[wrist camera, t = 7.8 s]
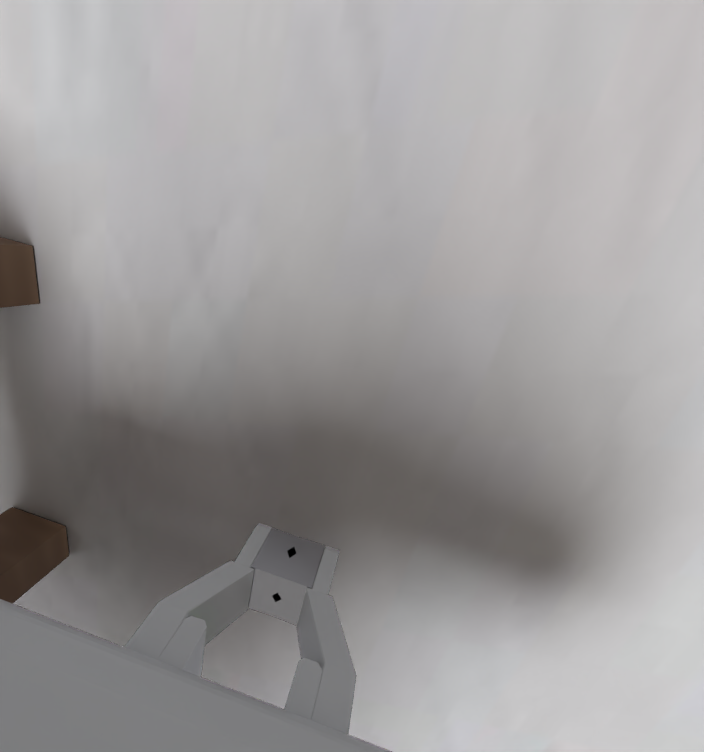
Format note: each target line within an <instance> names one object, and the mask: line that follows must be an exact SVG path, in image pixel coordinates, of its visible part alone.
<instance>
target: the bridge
mask: <svg viewBox="0 0 704 752" xmlns="http://www.w3.org/2000/svg"><path fill="white" fill-rule="evenodd" d="M30 304H39V296H38V288H37V279H36V271H35V262H34V254H33V246H31V245H27V244H24V243H20V242H16V241H13V240H9V239H6V238H2V237H0V308H3V307H12V306H21V305H30ZM68 556H69V549H68V541H67V532H66V526H63V525H61V524H58V523H55V522H52V521H49V520H47V519H44V518H41V517H38V516H36V515H33V514H30V513H27V512H24V511H22V510H19V509H16V508H13V507H12V508H10V509H8V510H7V511H5V512H3V513H2V514H0V599H2V600H4V601H7V602H10V603H12V604H13V603H14V602H15V601H16V600H17V599H19V598H20V597H21V596H22V595H23V594H24V593H26V592H27V591H28V590H29V589H30V588H31V587H33V586H34V585H35V584H36V583H37V582H39V581H40V580H41V579H42V578H43V577H44V576H46V575H47V574H48V573H49V572H50V571H51V570H53V569H54V568H55V567H56V566H57V565H59V564H60V563H61V562H62V561H63V560H64V559H66V558H67V557H68Z"/></svg>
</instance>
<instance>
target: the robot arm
mask: <svg viewBox="0 0 704 752" xmlns="http://www.w3.org/2000/svg"><path fill="white" fill-rule="evenodd" d="M338 556H339V550H337V549H334V548H331V547H328V546H326V547H325V545H323V544H320V543H317V542H314V541H311V540H308V539H304V538H301V537H297V536H294V535H291V534H289V533H286V532H283V531H281V530H278V529H275V528H272V527H269V526H267V525H264V524H261V523H259V524H258V525H257V526H256V527H255V529H254V530H253V532H252V534H251V535H250V537H249V539H248V540H247V542H246V543H245V545H244V547H243V548H242V550H241V552H240V553H239V555H238V557H237V558H236V560H235V562H233V561H229V562H227V563H225V564H223V565H222V566H220V567H218V568H216V569H215V570H213V571H211V572H209V573H208V574H206V575H204V576H203V577H201V578H199V579H197V580H196V581H194V582H192V583H190V584H189V585H187V586H185V587H183V588H182V589H180V590H178V591H176V592H175V593H173V594H171V595H169V596H168V597H166V598H164V599H162V600H161V601H159V602H158V603H157V605H156V606H155V607H154V609H153V610H152V611H151V613H150V614H149V615H148V616H147V618H146V619H145V620H144V622H143V623H142V624H141V626H140V627H139V628H138V630H137V631H136V632H135V634H134V635H133V636H132V637H131V639H130V640H129V641H128V643H127V644H126V645H125V647H122V646H120V645H117V644H115V643H112V642H110V641H107V640H104V639H102V638H99V637H97V636H94V635H92V634H89V633H87V632H84V631H81V630H79V629H76V628H74V627H71V626H69V625H66V624H63V623H61V622H58V621H56V620H53V619H51V618H48V617H46V616H43V615H40V614H38V613H35V612H33V611H30V610H28V609H25V608H22V607H20V606H17V605H15V604H12V603H10V602H7V601H4V600H2V599H0V752H392V751H390V750H387V749H385V748H382V747H379V746H377V745H374V744H372V743H369V742H367V741H364V740H361V739H359V738H356V737H354V736H351V735H349V734H348V732H349V725H350V718H351V711H352V704H353V697H354V690H355V683H356V672H355V669H354V666H353V663H352V659H351V656H350V653H349V649H348V646H347V643H346V639H345V636H344V633H343V629H342V626H341V623H340V619H339V616H338V613H337V610H336V606H335V603H334V600H333V597H332V596H330V595H329V591H330V587H331V583H332V579H333V575H334V571H335V568H336V564H337V560H338ZM248 608H249V609H252V610H255V611H258V612H262V613H265V614H268V615H271V616H273V617H276V618H278V619H281V620H283V621H286V622H288V623H291V624H293V625H296V626H297V634H298V641H299V648H300V655H301V660H300V661H299V662H298V666H297V669H296V672H295V676H294V679H293V682H292V685H291V689H290V692H289V695H288V699H287V702H286V705H285V708H284V709H282V708H279V707H277V706H274V705H272V704H269V703H267V702H264V701H261V700H259V699H256V698H254V697H251V696H249V695H246V694H243V693H241V692H238V691H236V690H233V689H231V688H228V687H225V686H223V685H220V684H218V683H215V682H213V681H210V680H208V679H205V678H202V677H201V673H202V664H203V655H204V646H205V645H206V644H207V643H208V642H209V641H210V640H212V639H213V638H214V637H215V636H217V635H218V634H219V633H220V632H221V631H223V630H224V629H225V628H226V627H227V626H229V625H230V624H231V623H232V622H233V621H235V620H236V619H237V618H238V617H239V616H241V615H242V614H243V613H244V612H245V611H247V609H248Z"/></svg>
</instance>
